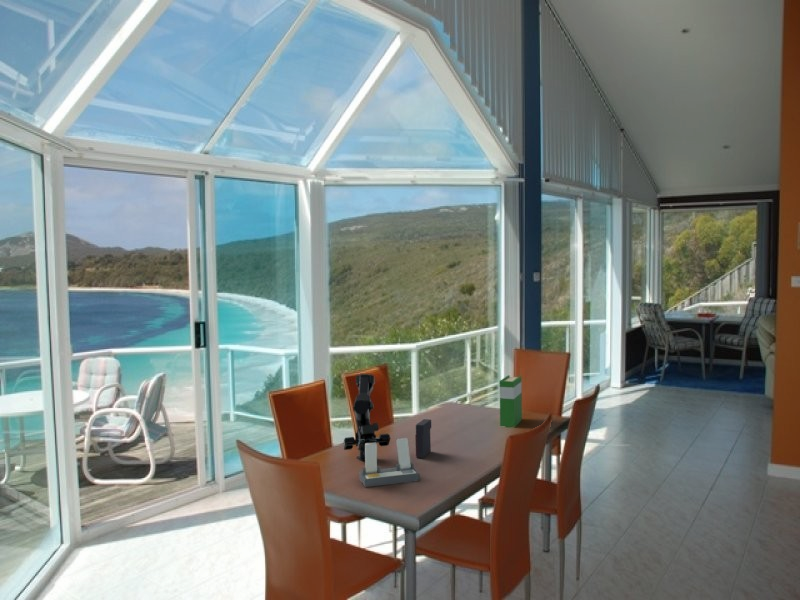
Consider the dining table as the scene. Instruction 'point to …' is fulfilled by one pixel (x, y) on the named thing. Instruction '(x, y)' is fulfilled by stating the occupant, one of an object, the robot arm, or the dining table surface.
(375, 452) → the white switch lever
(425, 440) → the dark gray upright box
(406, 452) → the lever slate
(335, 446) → the dining table surface
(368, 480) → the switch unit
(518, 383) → the hardback book
